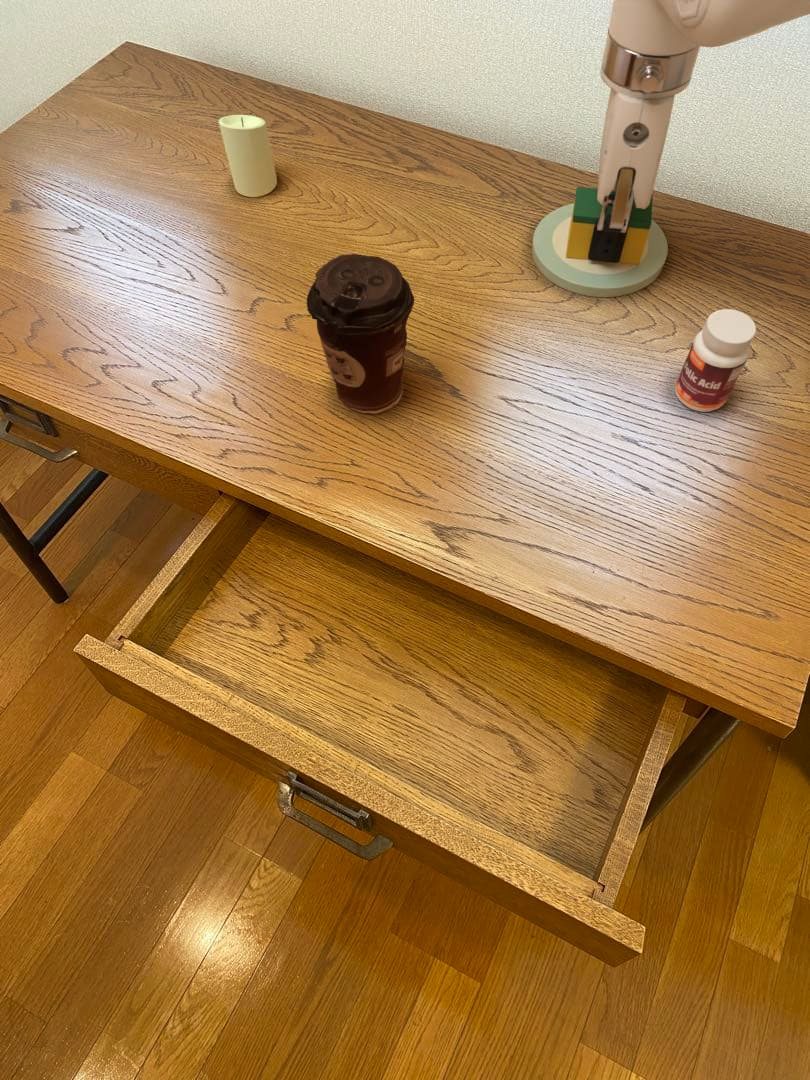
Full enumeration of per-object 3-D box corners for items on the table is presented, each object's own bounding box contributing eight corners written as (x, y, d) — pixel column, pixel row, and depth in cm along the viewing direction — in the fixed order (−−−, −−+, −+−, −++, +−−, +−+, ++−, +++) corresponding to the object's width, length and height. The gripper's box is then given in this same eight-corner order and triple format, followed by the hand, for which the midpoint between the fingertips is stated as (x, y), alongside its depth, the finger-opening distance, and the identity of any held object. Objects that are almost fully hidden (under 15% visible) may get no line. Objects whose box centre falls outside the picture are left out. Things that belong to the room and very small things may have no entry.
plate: (666, 216, 82) (669, 206, 81) (663, 304, 75) (667, 294, 74) (538, 204, 84) (540, 194, 83) (524, 289, 77) (526, 279, 76)
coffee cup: (350, 439, 68) (334, 332, 56) (307, 382, 71) (284, 271, 60) (431, 398, 70) (430, 287, 59) (385, 345, 73) (376, 231, 62)
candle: (247, 168, 89) (231, 98, 82) (284, 176, 88) (271, 106, 81) (227, 192, 87) (208, 123, 80) (265, 201, 86) (250, 131, 79)
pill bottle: (663, 395, 69) (690, 327, 62) (691, 366, 71) (721, 297, 63) (709, 422, 67) (742, 354, 60) (736, 391, 69) (772, 323, 62)
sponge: (640, 235, 79) (652, 193, 74) (639, 265, 76) (651, 222, 72) (569, 229, 79) (577, 186, 75) (565, 257, 77) (573, 215, 73)
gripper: (696, 119, 57) (638, 303, 73) (695, 7, 65) (644, 195, 81) (597, 111, 58) (561, 295, 74) (609, 2, 66) (574, 188, 82)
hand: (605, 240), depth 77 cm, fingers closed on sponge, 4 cm apart
